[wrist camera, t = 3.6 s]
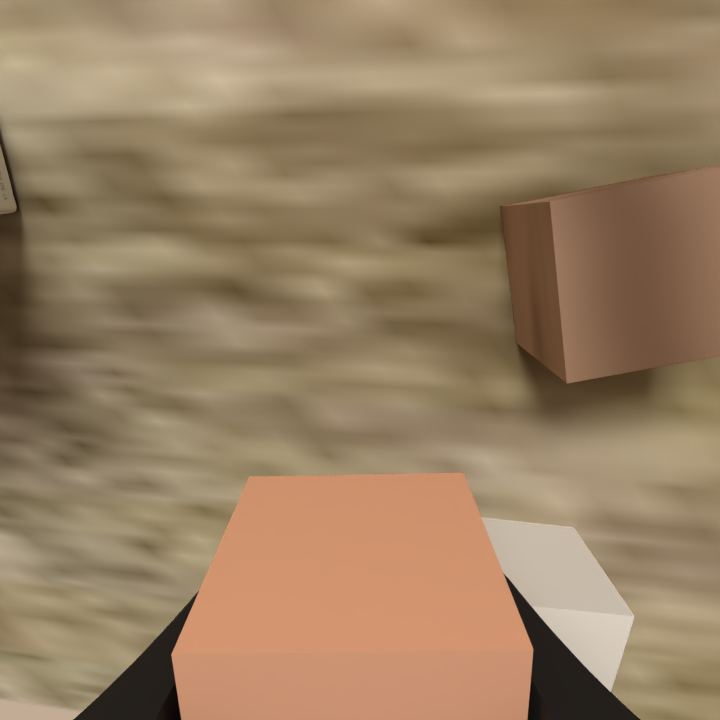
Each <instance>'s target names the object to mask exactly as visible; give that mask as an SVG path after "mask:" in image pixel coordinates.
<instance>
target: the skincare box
mask: <svg viewBox="0 0 720 720" xmlns="http://www.w3.org/2000/svg"><path fill="white" fill-rule="evenodd" d="M16 208H17V207H16V202H15V199H14V196H13V192H12V188H11V184H10V179H9V176H8V172H7V168H6V164H5V161H4V157H3V153H2V150H1V146H0V214H7V213H13V212H15V211H16Z"/></svg>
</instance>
